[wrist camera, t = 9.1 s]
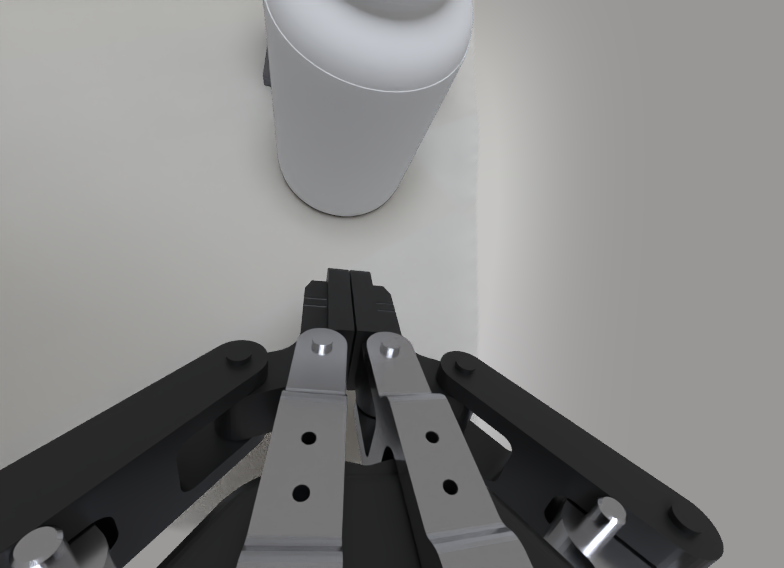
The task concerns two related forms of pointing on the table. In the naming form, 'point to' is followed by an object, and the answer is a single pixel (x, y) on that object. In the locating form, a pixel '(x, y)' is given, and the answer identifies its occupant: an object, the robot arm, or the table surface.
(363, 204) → the pill bottle
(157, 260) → the table surface
